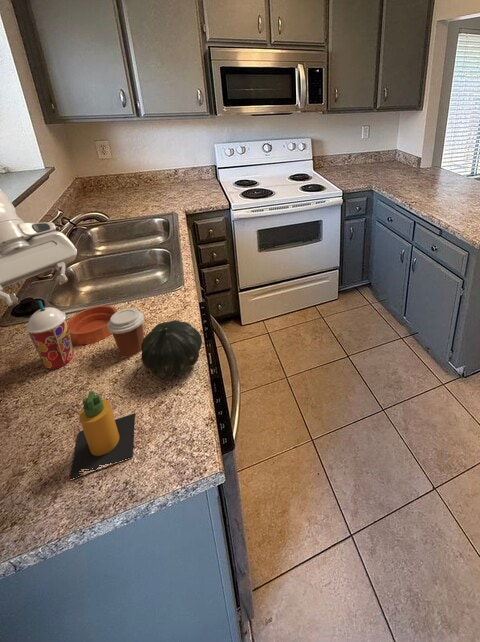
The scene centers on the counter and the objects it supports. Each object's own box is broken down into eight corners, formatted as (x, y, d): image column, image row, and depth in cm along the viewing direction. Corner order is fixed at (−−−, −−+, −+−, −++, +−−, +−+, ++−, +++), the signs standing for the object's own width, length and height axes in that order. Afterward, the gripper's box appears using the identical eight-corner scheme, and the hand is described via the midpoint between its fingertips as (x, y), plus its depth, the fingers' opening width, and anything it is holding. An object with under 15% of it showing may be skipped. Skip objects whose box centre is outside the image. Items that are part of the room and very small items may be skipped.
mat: (69, 481, 69) (69, 479, 69) (79, 432, 79) (79, 431, 78) (132, 457, 73) (132, 456, 73) (135, 414, 83) (134, 413, 83)
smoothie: (85, 356, 100) (66, 296, 93) (53, 378, 93) (30, 314, 86) (66, 347, 103) (47, 288, 96) (34, 368, 96) (11, 305, 89)
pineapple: (88, 460, 73) (71, 412, 68) (92, 437, 77) (76, 390, 72) (118, 449, 75) (104, 402, 70) (120, 427, 79) (107, 381, 74)
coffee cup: (118, 343, 105) (109, 309, 101) (151, 336, 108) (144, 302, 103) (111, 365, 97) (102, 329, 93) (148, 357, 100) (140, 322, 95)
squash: (177, 319, 106) (145, 307, 94) (219, 333, 101) (191, 323, 89) (154, 369, 101) (116, 364, 88) (197, 386, 96) (163, 383, 83)
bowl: (64, 351, 102) (60, 339, 100) (73, 323, 113) (70, 312, 112) (118, 338, 107) (114, 326, 105) (121, 312, 118) (118, 301, 117)
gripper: (-57, 254, 69) (-22, 312, 68) (60, 220, 86) (91, 266, 84) (-56, 268, 73) (-22, 323, 72) (56, 232, 89) (86, 277, 88)
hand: (40, 292), depth 78 cm, fingers open, 8 cm apart
